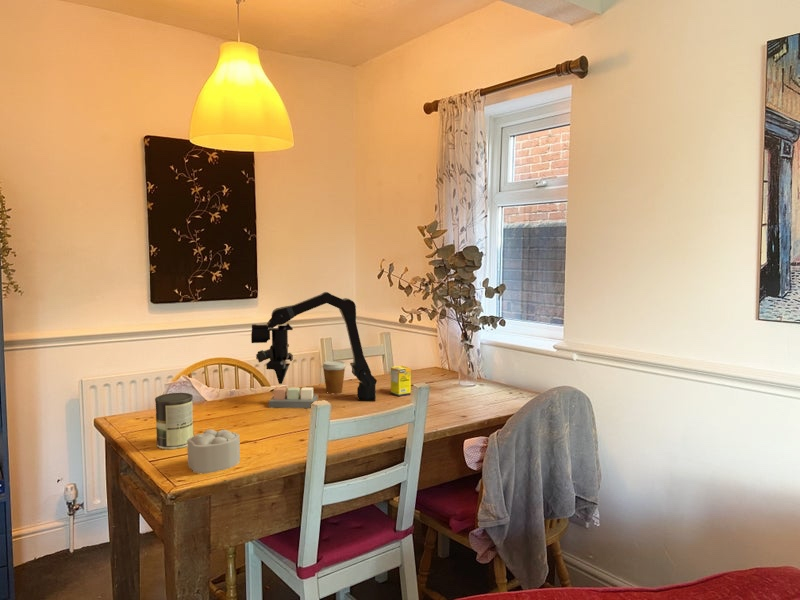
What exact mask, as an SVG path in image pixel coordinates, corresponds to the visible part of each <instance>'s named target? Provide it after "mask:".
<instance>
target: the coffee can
mask: <svg viewBox="0 0 800 600" xmlns="http://www.w3.org/2000/svg"><path fill="white" fill-rule="evenodd" d="M193 399H194V396H193V394H192V393H189V392H188V393H187V392H173V393H172V392H171V393H164V394H161V395H159V396H156V397H155V398H154V402H155V421H156V424H155V426H156V429H155V430H156V447H157V448H158V447H159V449H160V448H162V449H161V450H177V449H178V448H179V449H183V448H187V440H188V439H189V438H191V437H194V420H193V419H194V415H193V411H194V410H193Z"/></svg>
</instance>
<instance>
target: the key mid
mask: <svg viewBox="0 0 800 600" xmlns="http://www.w3.org/2000/svg"><path fill="white" fill-rule="evenodd" d="M300 395H301V387H298V386H297V387H291V386H290V387H287V400H299V399H300Z"/></svg>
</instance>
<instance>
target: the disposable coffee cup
mask: <svg viewBox="0 0 800 600" xmlns="http://www.w3.org/2000/svg"><path fill="white" fill-rule="evenodd" d="M321 367H322V369H323V375H324V382H325V383H324V384H325V390H326V393H327V392H328V393H327V394H330V393H338V394H341V393H342V392H343V387H344V377H345V369H346V368H347V365H346V362H344V361H343V360H342V361H341V360H328V361H324V362H323V364H322V366H321ZM340 392H341V393H340Z"/></svg>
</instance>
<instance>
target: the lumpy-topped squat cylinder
mask: <svg viewBox="0 0 800 600" xmlns="http://www.w3.org/2000/svg"><path fill="white" fill-rule="evenodd" d="M240 436H241V435H240V434H239V433H236V432H234V431H232V432H231V431H230V430H228V429H221V430H219V431H218V430H217V431H216V430H214V429H211V428H210V429H209V428H208V429H206V430H204V432H203V433H197V434H195V435H193V437H191V438H189V439H188V440H187V447H186V448H187V467H188V466H189V467H190V468H189V467H188V468H189V469H191V471H192V470H193V471H192V472H193V473H194V472H195V473H194V474H196V473H199V474H198V475H204V473H206V474H211V473H216V472H219V471H225V470H228V469H232V468H234V467H236V466H237V465H238V464H239V463H240V462H241V443H240V442H241V440H240ZM200 473H202V474H200Z"/></svg>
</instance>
